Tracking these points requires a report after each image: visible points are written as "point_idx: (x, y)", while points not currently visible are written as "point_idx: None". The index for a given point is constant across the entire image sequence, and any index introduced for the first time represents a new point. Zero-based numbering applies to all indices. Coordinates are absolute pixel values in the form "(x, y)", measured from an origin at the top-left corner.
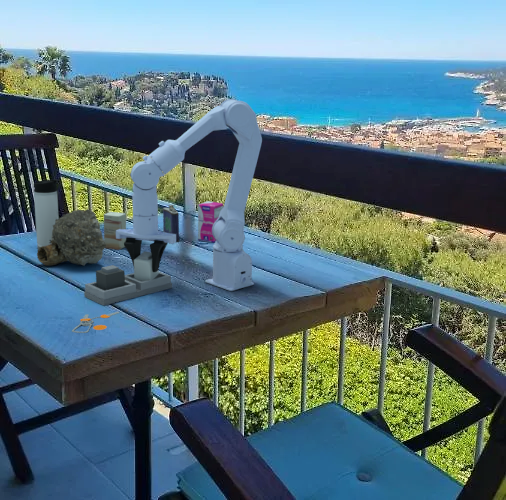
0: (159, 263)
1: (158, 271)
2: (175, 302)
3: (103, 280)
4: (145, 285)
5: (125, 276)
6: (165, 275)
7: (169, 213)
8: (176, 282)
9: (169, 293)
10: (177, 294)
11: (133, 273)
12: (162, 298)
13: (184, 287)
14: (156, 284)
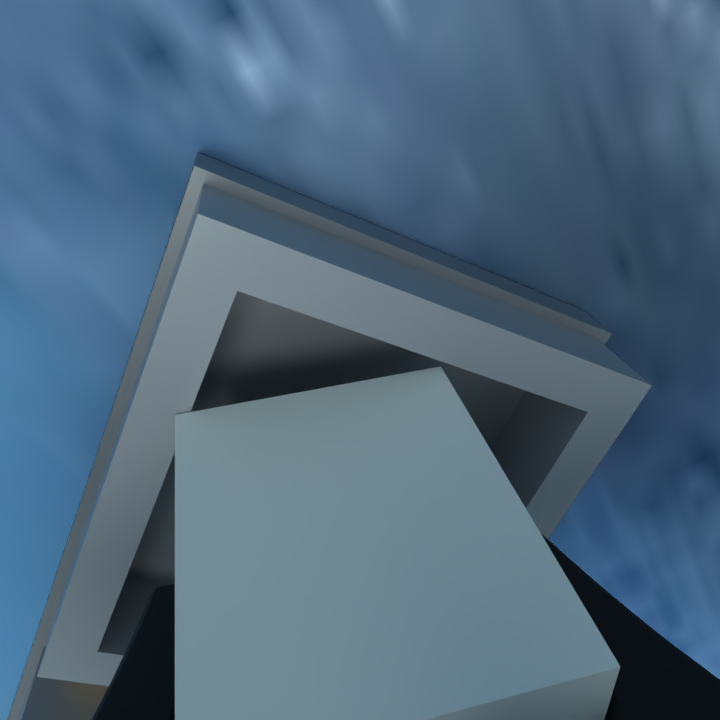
0: (592, 589)
1: (455, 398)
2: (715, 589)
3: None
4: None
5: (103, 677)
6: (575, 404)
7: None
8: (562, 83)
9: (608, 456)
10: (687, 443)
11: (103, 551)
12: (590, 576)
13: (709, 225)
14: None
